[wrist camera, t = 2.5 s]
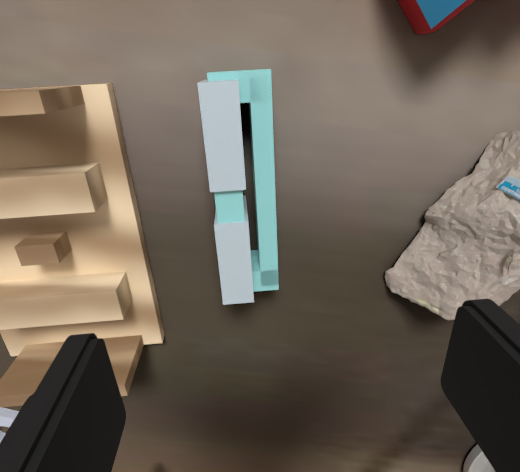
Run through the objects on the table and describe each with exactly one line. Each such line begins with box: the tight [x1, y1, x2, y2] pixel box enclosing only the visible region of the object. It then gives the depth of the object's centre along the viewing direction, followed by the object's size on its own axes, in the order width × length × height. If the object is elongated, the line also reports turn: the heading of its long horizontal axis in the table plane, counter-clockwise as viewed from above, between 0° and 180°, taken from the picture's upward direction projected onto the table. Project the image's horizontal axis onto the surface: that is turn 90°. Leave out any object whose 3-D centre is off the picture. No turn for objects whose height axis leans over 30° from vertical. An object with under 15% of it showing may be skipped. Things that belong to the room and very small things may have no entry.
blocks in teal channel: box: [198, 69, 279, 305], centre depth 23 cm, size 14×4×5 cm, turn 3°
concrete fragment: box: [385, 131, 520, 320], centre depth 25 cm, size 7×14×6 cm, turn 148°
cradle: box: [0, 83, 165, 407], centre depth 23 cm, size 19×12×6 cm, turn 3°
